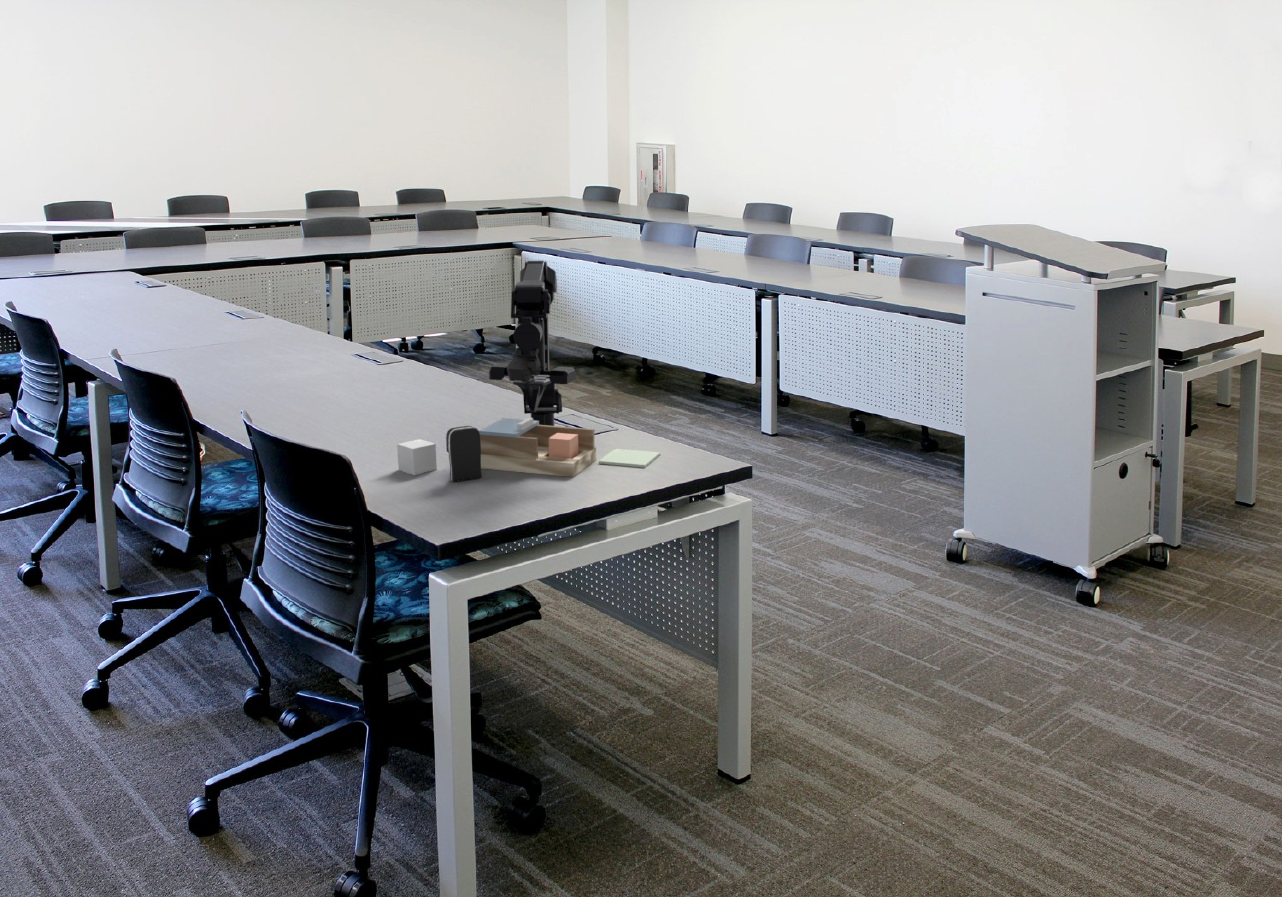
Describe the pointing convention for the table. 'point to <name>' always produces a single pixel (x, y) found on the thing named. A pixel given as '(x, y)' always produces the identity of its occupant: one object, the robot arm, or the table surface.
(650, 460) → the sage mat
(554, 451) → the block
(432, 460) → the white cube
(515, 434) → the cover
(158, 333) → the table surface
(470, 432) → the battery charger
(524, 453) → the open storage box
